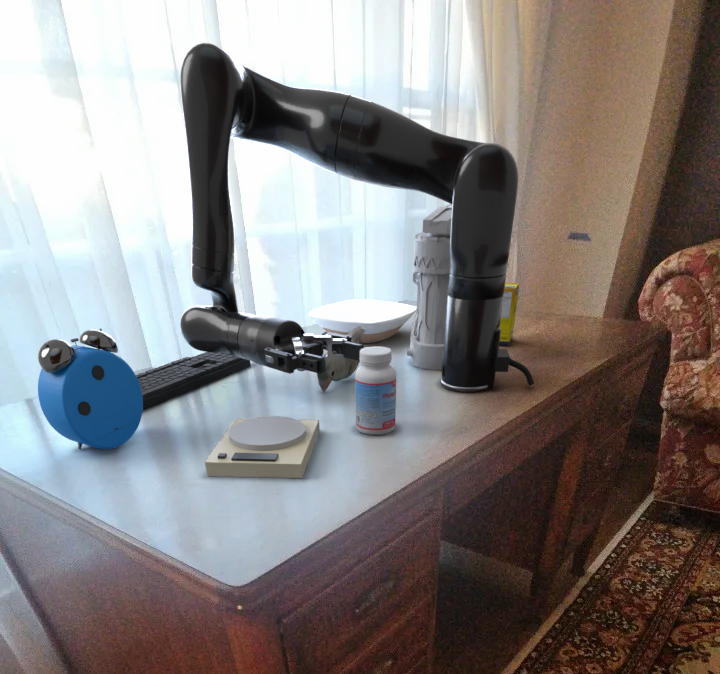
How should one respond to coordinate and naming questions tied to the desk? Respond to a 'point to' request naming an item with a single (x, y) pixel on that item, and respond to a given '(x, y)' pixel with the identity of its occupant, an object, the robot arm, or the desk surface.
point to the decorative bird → (340, 364)
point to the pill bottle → (375, 391)
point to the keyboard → (186, 375)
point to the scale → (264, 448)
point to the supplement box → (508, 312)
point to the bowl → (363, 317)
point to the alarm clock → (89, 391)
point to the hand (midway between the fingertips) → (343, 359)
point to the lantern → (431, 289)
